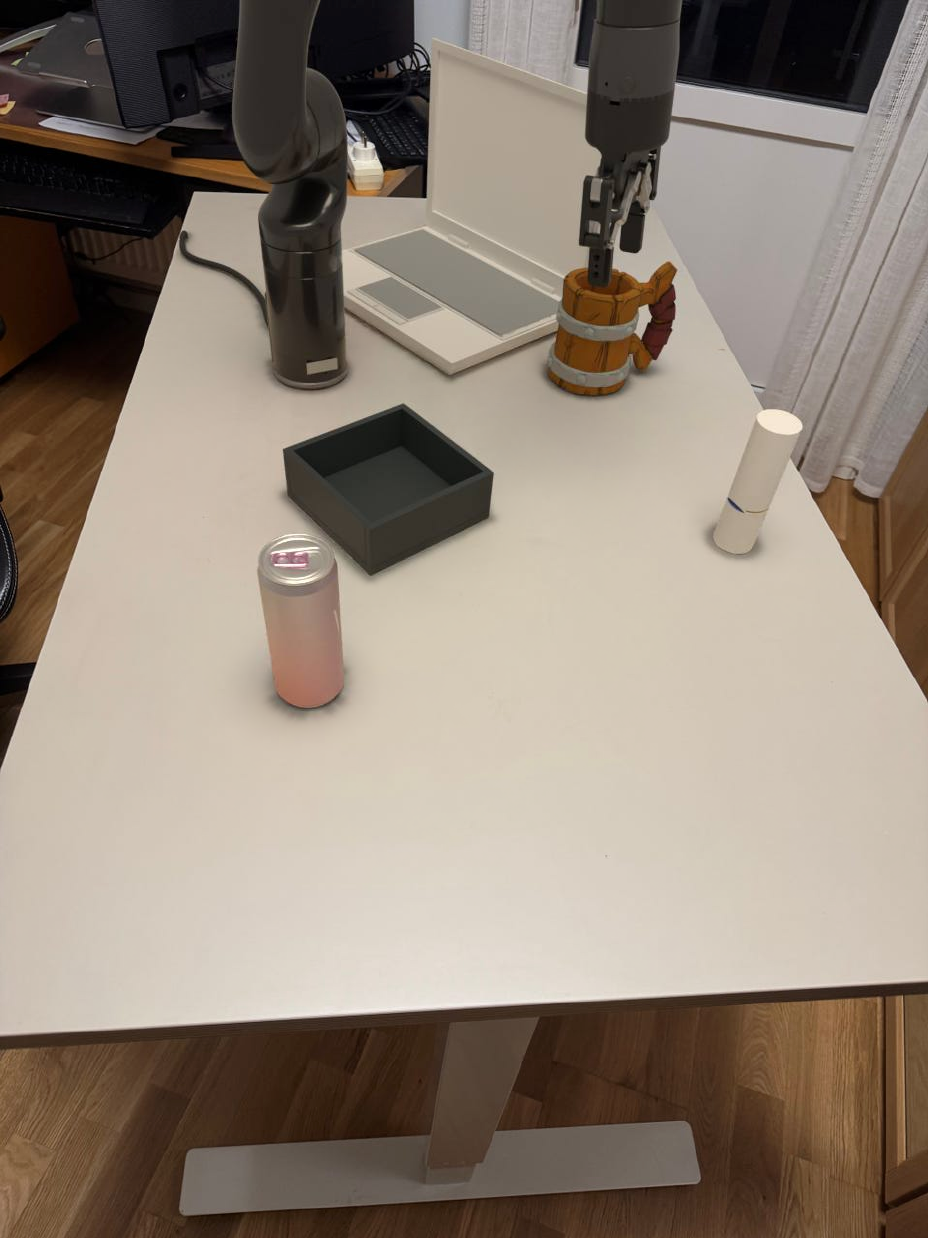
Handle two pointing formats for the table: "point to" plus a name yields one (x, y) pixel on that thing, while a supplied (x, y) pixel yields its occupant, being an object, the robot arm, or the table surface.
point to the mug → (609, 329)
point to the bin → (387, 486)
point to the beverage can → (302, 618)
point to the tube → (756, 480)
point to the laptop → (482, 217)
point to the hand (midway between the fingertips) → (614, 267)
